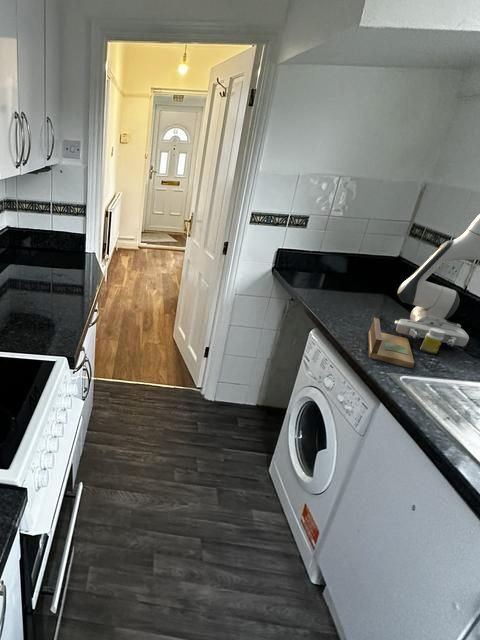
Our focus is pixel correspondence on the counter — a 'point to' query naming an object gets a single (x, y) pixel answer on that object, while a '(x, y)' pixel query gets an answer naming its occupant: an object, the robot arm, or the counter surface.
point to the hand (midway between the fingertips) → (433, 340)
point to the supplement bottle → (432, 341)
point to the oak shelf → (389, 347)
